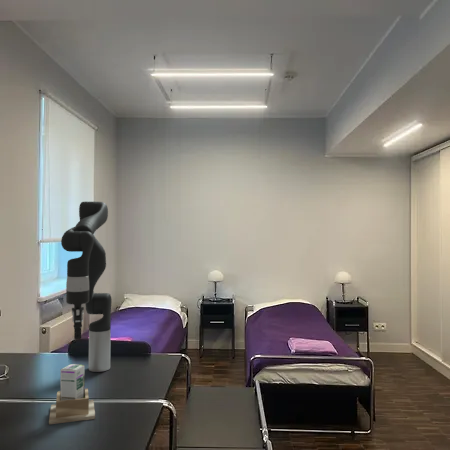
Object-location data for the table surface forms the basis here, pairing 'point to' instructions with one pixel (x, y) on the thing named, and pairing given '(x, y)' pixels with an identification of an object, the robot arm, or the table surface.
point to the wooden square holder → (72, 409)
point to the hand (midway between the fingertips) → (77, 335)
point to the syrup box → (72, 382)
